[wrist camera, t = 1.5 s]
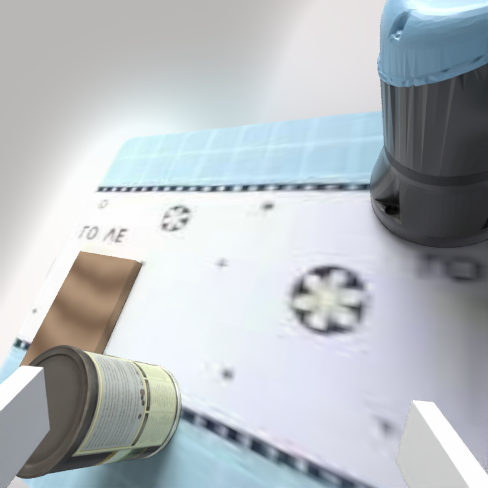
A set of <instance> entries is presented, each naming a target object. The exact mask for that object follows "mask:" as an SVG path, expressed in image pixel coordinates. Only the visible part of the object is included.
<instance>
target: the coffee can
mask: <svg viewBox="0 0 488 488" xmlns="http://www.w3.org/2000/svg"><path fill="white" fill-rule="evenodd" d="M28 366H33V367H43V368H44V377H45V387H46V397H47V406H48V416H49V425H50V430H49V431H48V433H47V434H46V435H45V437H44V438H43V440H42V441H41V442H40V444H39V445H38V446H37V448H36V449H35V450H34V452H33V453H32V454H31V456H30V457H29V458H28V460H27V461H26V463H25V464H24V465H23V467H22V468H21V469H20V471H19V472H18V473H17V475H16V476H17V477H20V478H24V479H29V478H36V477H40V476H44V475H46V474H48V473H55V472H61V471H66V470H72V469H78V468H85V467H90V466H96V465H102V464H108V463H114V462H120V461H126V460H133V459H143V458H148V457H151V456H153V455H155V454H156V453H158V452H159V451H160V450H161V449H163V448H164V447H165V446H166V444H167V443H168V442H169V440H170V439H171V437H172V436H173V434H174V432H175V429H176V427H177V424H178V421H179V417H180V411H181V395H180V390H179V386H178V384H177V381H176V380H175V378H174V376H173V375H172V374H171V373H170V372H169V371H168V370H167V369H166V368H164V367H162V366H159V365H151V364H146V363H142V362H137V361H132V360H128V359H123V358H118V357H114V356H109V355H104V354H100V353H95V352H90V351H85V350H81V349H79V348H77V347H74V346H69V345H59V346H55V347H52V348H49V349H47V350H45V351H44V352H42V353H41V354H40V355H38V356H37V357H36V358H35V359H34V360H33V361H32V362H31V363H30V364H29V365H28Z"/></svg>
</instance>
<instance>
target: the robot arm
mask: <svg viewBox="0 0 488 488" xmlns="http://www.w3.org/2000/svg"><path fill="white" fill-rule="evenodd" d="M377 64H378V73H379V76H380V81H381V99H382V117H383V136H384V146H383V148H382V151H381V153H380V155H379V157H378V160H377V162H376V164H375V166H374V169H373V171H372V175H371V180H370V194H371V202H372V206H373V209H374V211H375V213H376V215H377V217H378V218H379V220H380V221H381V222H382V223H383V224H384V225H385V226H386V227H387V228H388V229H389V230H390V231H392V232H393V233H395V234H396V235H398V236H400V237H402V238H403V239H406V240H408V241H411V242H413V243H417V244H421V245H425V246H431V247H443V248H449V247H461V246H467V245H472V244H475V243H479V242H482V241H484V240H487V239H488V0H387V1H386V4H385V6H384V9H383V12H382V17H381V25H380V53H379V57H378V62H377ZM49 430H50V425H49V416H48V406H47V397H46V387H45V377H44V368H43V367H33V366H21V367H20V368H19V369H18V370H17V371H15V372H14V373H13V374H12V375H11V376H10V377H9V378H8V379H7V380H6V381H4V382H3V383H2V384H1V385H0V488H7V487H8V485H9V484H10V483H11V481H12V480H13V479H14V477H15V476H16V475H17V473H18V472H19V471H20V469H21V468H22V467H23V465H24V464H25V463H26V461H27V460H28V458H29V457H30V456H31V454H32V453H33V452H34V450H35V449H36V448H37V446H38V445H39V444H40V442H41V441H42V440H43V438H44V437H45V435H46V434H47V433H48V431H49ZM395 461H396V463H397V465H398V467H399V469H400V471H401V473H402V475H403V478H404V480H405V482H406V484H407V486H408V488H488V475H487V474H486V472H485V471H484V470H483V468H482V467H481V465H480V464H479V463H478V461H477V460H476V459H475V457H474V456H473V455H472V453H471V452H470V451H469V449H468V448H467V447H466V445H465V444H464V443H463V441H462V440H461V438H460V437H459V436H458V434H457V433H456V432H455V430H454V429H453V428H452V426H451V425H450V424H449V422H448V421H447V420H446V418H445V417H444V415H443V414H442V413H441V411H440V410H439V409H438V407H437V406H436V405H435V403H434V402H426V401H415V400H412V403H411V406H410V410H409V413H408V417H407V420H406V424H405V428H404V431H403V435H402V438H401V442H400V445H399V449H398V452H397V456H396V460H395Z"/></svg>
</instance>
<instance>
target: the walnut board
mask: <svg viewBox="0 0 488 488" xmlns="http://www.w3.org/2000/svg"><path fill="white" fill-rule="evenodd" d="M141 265H142V264H140V263H139V262H137V261H135V260H129V259H123V258H117V257H112V256H106V255H100V254H94V253H88V252H82V251H80V252H79V254H78V256H77V258H76V260H75V262H74V264H73V266H72V267H71V269H70V271H69V273H68V275H67V277H66V279H65V281H64V283H63V285H62V286H61V288H60V290H59V292H58V294H57V296H56V298H55V300H54V302H53V303H52V305H51V307H50V309H49V311H48V313H47V315H46V317H45V319H44V321H43V322H42V324H41V326H40V328H39V330H38V332H37V334H36V336H35V338H34V339H33V341H32V343H31V345H30V347H29V349H28V351H27V353H26V355H25V357H24V358H23V360H22V362H21V364H20V366H19V367H21V366H28V365H29V364H30V363H31V362H32V361H33V360H34V359H35V358H36V357H37V356H38V355H40V354H41V353H42V352H44V351H45V350H47V349H49V348H52V347H55V346H59V345H69V346H74V347H77V348H79V349H81V350H85V351H90V352H95V353H100V354H102V353H103V351H104V349H105V347H106V344H107V342H108V340H109V337H110V335H111V333H112V331H113V328H114V326H115V324H116V322H117V319H118V317H119V315H120V313H121V310H122V308H123V306H124V304H125V301H126V299H127V297H128V295H129V292H130V290H131V288H132V286H133V283H134V281H135V279H136V277H137V274H138V272H139V270H140V268H141Z"/></svg>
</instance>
